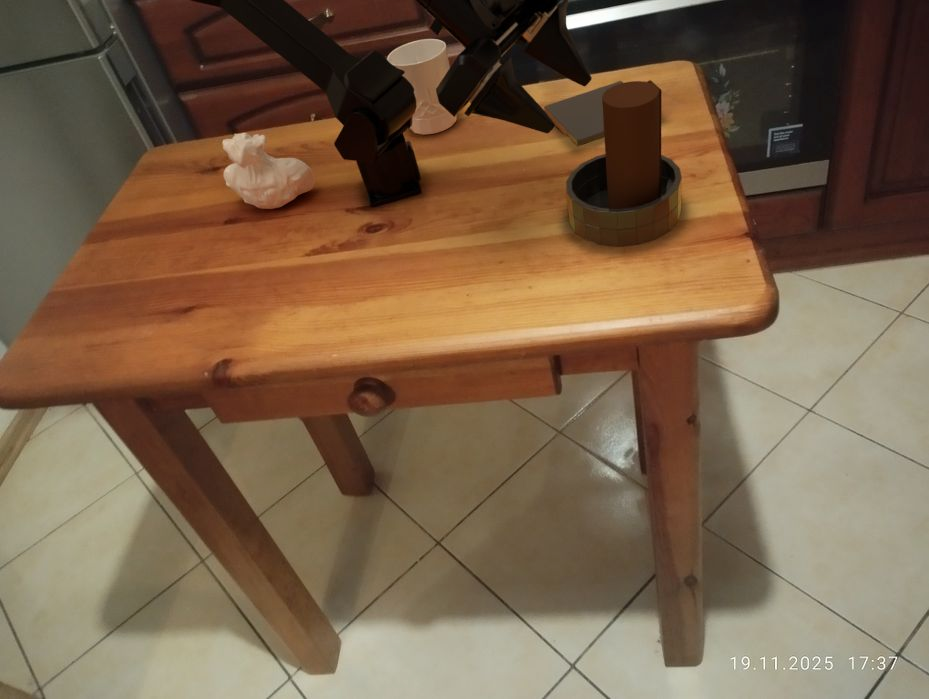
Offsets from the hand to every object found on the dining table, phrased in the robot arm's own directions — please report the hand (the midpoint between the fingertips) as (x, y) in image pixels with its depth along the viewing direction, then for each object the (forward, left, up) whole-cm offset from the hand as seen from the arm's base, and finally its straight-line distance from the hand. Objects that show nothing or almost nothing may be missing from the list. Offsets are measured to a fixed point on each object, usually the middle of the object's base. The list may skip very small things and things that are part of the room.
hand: (570, 105), depth 64 cm
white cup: (-11, +30, -12) cm, 35 cm away
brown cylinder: (+4, -4, -12) cm, 13 cm away
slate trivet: (+9, +18, -12) cm, 24 cm away
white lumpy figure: (-34, +21, -12) cm, 42 cm away
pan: (+4, -3, -12) cm, 13 cm away
